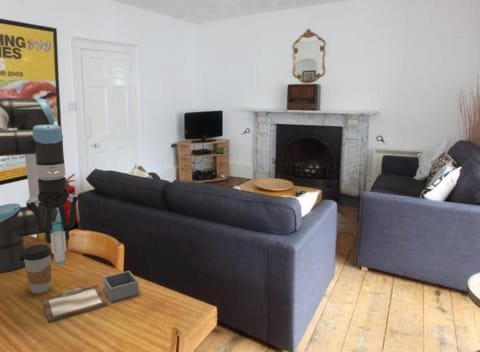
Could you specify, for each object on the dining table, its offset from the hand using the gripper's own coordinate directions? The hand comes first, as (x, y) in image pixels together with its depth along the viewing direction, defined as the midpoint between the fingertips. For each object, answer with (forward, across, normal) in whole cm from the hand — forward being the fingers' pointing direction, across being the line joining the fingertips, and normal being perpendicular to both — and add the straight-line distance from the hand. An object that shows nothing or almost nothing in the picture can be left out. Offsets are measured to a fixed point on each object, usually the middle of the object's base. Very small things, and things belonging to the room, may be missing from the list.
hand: (58, 250), depth 113 cm
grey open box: (+19, +18, -3) cm, 26 cm away
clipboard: (+19, +3, -2) cm, 19 cm away
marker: (+4, 0, 0) cm, 4 cm away
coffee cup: (+19, -5, +14) cm, 24 cm away
